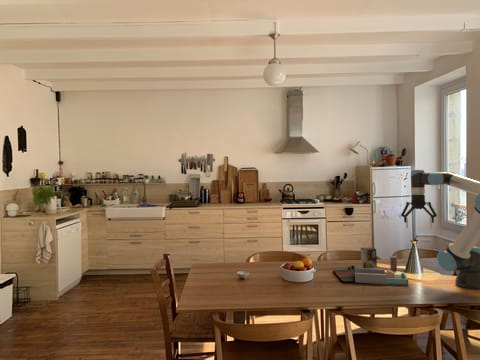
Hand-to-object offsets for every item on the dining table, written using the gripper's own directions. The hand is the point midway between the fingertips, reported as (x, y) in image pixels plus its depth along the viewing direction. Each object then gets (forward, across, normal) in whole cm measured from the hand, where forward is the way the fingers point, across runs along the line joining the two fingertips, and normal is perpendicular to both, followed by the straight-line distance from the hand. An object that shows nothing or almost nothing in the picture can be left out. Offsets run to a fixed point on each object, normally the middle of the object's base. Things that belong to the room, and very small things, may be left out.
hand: (418, 227), depth 227 cm
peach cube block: (+29, +19, +10) cm, 37 cm away
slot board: (+32, +30, +10) cm, 45 cm away
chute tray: (+32, +15, +10) cm, 36 cm away
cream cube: (+29, +16, +10) cm, 35 cm away
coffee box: (+32, +30, -9) cm, 45 cm away
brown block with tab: (+32, +15, -4) cm, 35 cm away
